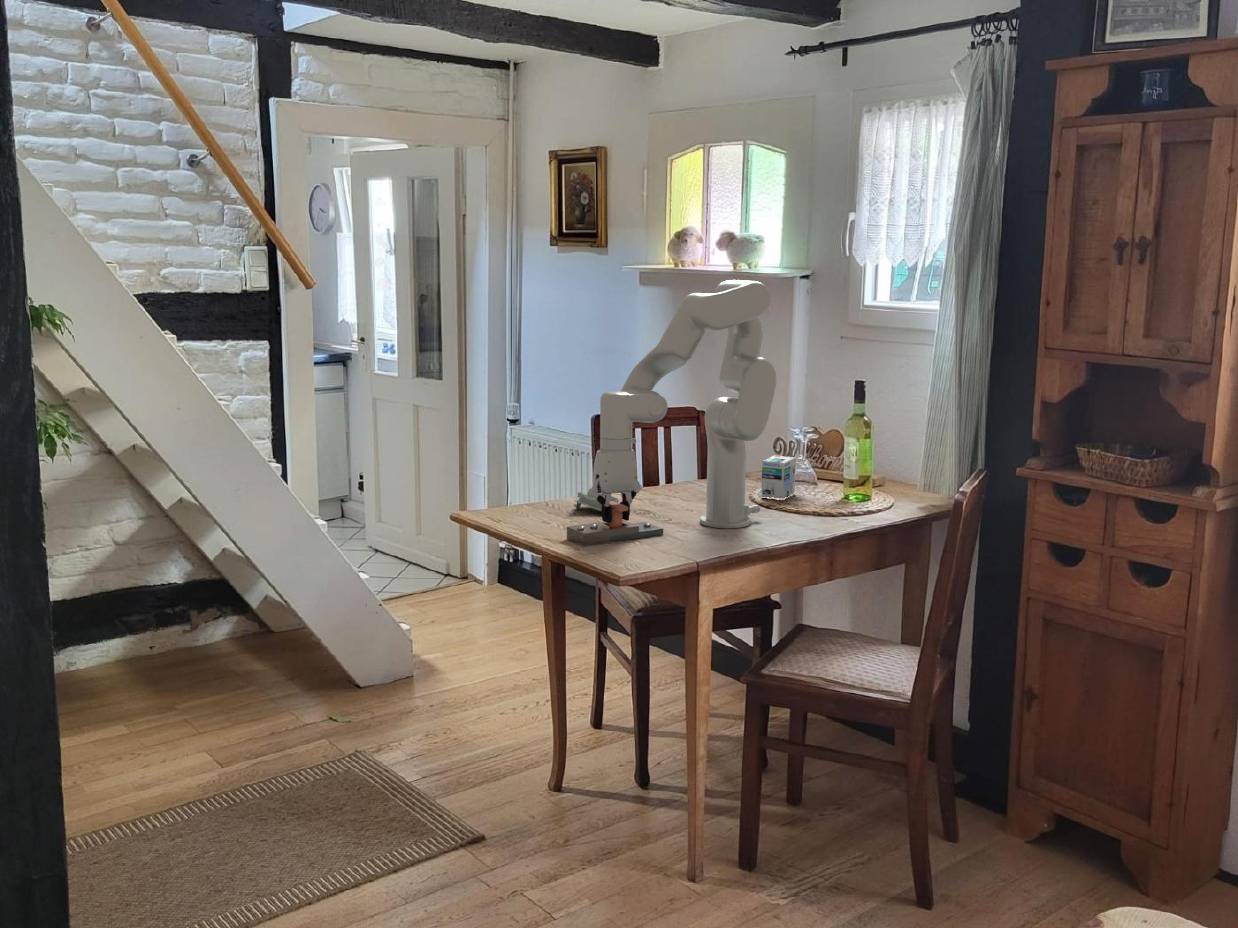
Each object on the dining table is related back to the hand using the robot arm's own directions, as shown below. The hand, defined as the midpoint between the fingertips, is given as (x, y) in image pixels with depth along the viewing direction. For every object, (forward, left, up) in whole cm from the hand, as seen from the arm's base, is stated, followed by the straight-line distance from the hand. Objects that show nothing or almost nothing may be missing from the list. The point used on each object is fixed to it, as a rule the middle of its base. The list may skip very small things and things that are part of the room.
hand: (615, 519), depth 269 cm
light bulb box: (-63, -16, -4) cm, 65 cm away
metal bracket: (-11, -26, -5) cm, 29 cm away
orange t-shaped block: (0, 0, -4) cm, 4 cm away
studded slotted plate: (0, 0, -4) cm, 4 cm away
